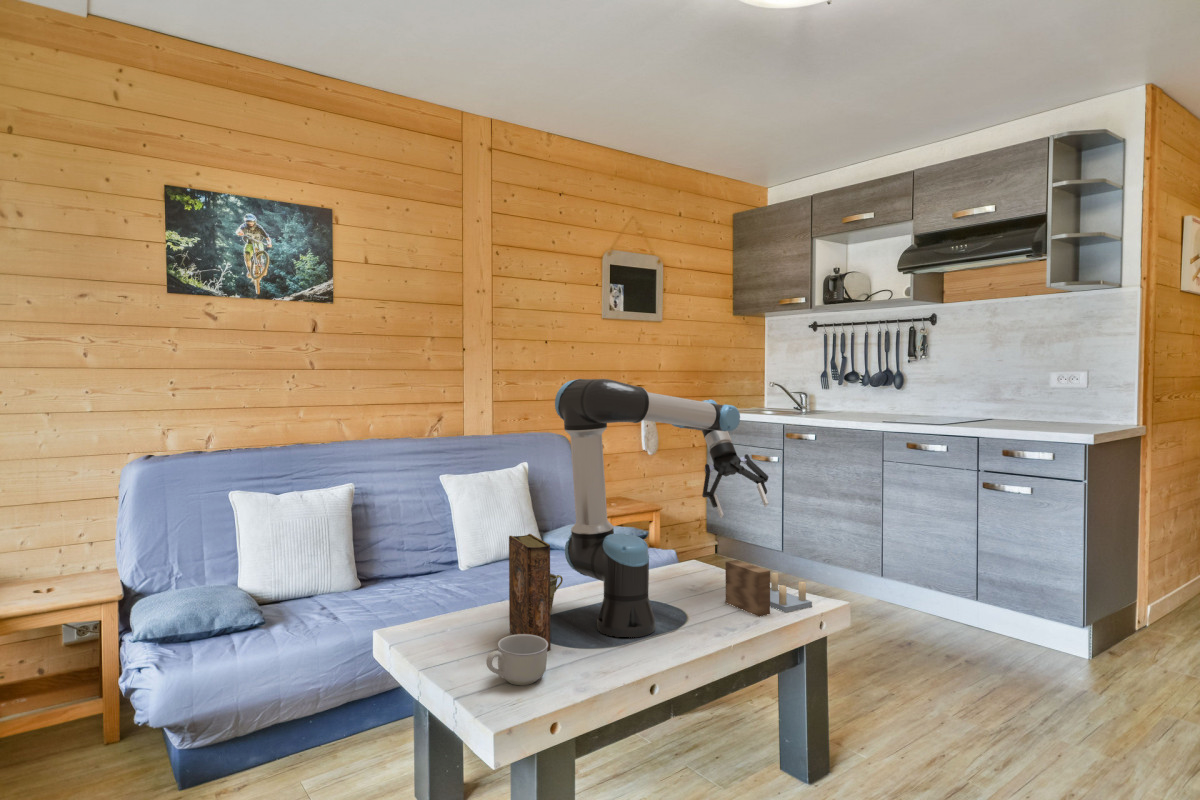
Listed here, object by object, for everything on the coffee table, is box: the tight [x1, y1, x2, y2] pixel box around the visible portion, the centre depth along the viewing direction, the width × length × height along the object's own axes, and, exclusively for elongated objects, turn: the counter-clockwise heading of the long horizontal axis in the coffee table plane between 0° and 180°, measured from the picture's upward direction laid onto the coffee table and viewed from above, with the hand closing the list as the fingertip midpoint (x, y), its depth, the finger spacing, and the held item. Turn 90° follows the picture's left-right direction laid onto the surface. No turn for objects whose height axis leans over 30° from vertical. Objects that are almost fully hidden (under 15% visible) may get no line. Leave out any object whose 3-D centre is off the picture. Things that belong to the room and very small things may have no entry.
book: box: [508, 533, 552, 653], centre depth 170 cm, size 16×6×25 cm, turn 25°
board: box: [725, 559, 771, 618], centre depth 194 cm, size 14×4×12 cm, turn 29°
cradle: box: [770, 572, 813, 613], centre depth 200 cm, size 16×10×6 cm, turn 29°
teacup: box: [486, 634, 548, 686], centre depth 147 cm, size 14×11×8 cm
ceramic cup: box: [550, 572, 564, 615], centre depth 192 cm, size 13×10×10 cm
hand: (744, 510), depth 201 cm, fingers open, 13 cm apart
